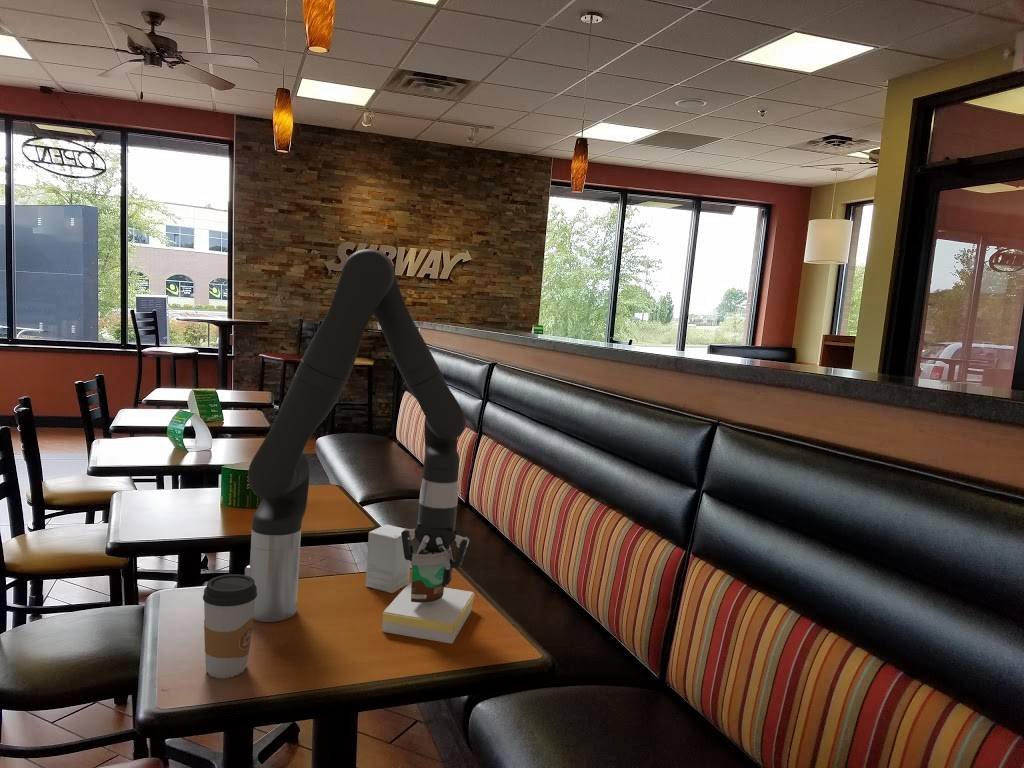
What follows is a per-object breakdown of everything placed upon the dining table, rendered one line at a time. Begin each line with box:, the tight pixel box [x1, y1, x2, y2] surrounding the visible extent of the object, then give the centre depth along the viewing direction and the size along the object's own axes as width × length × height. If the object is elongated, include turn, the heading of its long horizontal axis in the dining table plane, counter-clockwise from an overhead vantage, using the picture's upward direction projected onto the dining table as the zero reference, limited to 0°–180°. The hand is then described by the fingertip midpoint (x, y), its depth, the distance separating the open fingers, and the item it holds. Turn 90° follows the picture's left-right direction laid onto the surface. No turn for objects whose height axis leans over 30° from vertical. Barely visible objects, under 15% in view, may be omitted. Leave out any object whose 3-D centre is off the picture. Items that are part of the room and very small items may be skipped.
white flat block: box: [381, 581, 475, 645], centre depth 141 cm, size 14×16×4 cm
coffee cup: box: [202, 573, 257, 679], centre depth 116 cm, size 8×8×15 cm
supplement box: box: [365, 524, 411, 594], centre depth 157 cm, size 7×7×13 cm
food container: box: [410, 545, 453, 603], centre depth 141 cm, size 12×6×10 cm, turn 169°
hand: (431, 583), depth 141 cm, fingers closed on food container, 5 cm apart
